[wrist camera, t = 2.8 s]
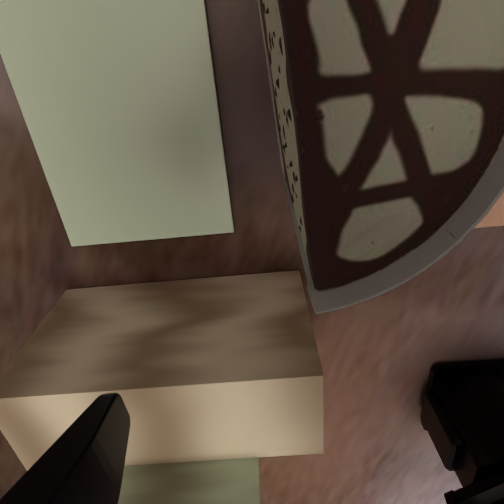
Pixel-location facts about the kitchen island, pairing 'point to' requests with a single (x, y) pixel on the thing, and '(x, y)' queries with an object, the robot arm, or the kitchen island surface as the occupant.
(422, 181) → the food container
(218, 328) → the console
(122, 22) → the sage bay
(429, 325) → the kitchen island surface
